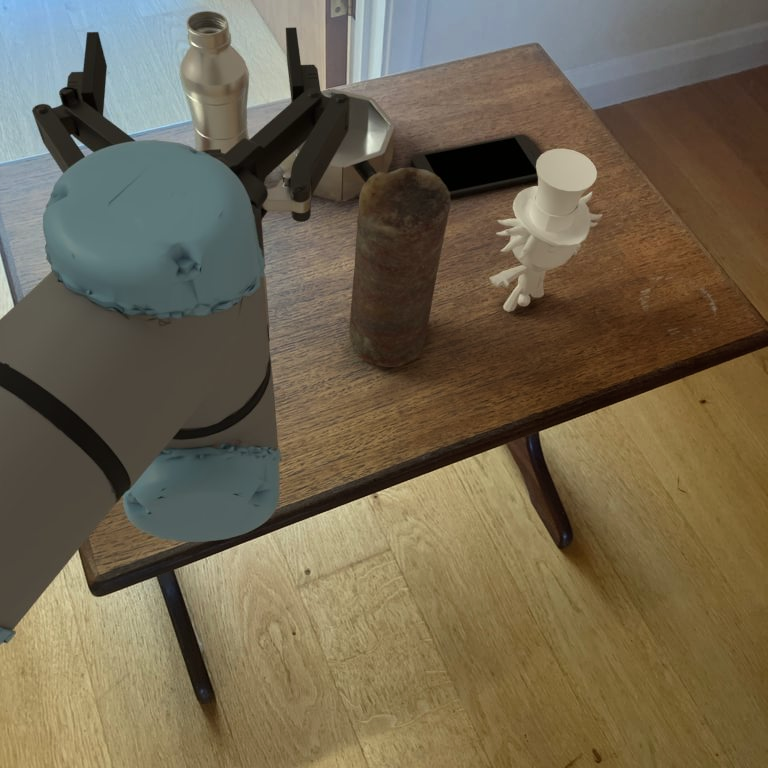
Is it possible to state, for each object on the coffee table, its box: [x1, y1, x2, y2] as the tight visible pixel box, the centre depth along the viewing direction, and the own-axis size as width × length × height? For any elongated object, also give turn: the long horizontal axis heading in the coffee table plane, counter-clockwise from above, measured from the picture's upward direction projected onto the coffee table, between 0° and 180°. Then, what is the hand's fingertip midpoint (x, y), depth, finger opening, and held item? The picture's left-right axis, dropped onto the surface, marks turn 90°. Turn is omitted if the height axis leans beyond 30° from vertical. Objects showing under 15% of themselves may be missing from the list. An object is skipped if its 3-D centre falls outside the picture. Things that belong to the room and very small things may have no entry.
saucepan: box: [279, 88, 396, 203], centre depth 90 cm, size 18×12×5 cm, turn 30°
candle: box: [348, 166, 452, 368], centre depth 71 cm, size 8×7×20 cm
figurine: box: [489, 148, 604, 313], centre depth 76 cm, size 10×8×18 cm
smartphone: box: [410, 134, 542, 199], centre depth 94 cm, size 7×15×1 cm, turn 109°
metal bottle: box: [179, 10, 250, 154], centre depth 82 cm, size 6×7×20 cm
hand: (195, 46), depth 58 cm, fingers open, 13 cm apart
